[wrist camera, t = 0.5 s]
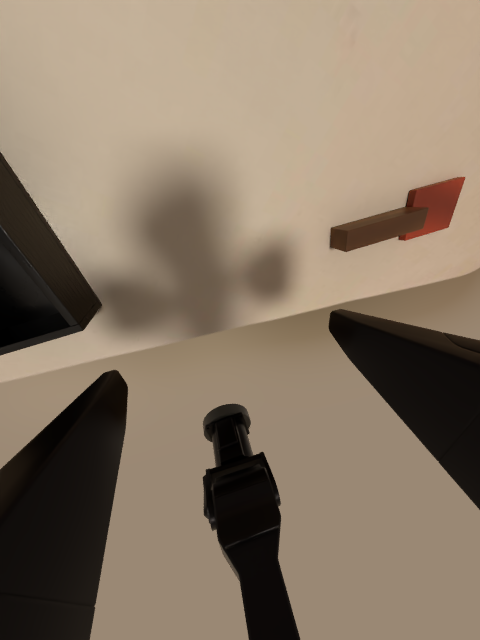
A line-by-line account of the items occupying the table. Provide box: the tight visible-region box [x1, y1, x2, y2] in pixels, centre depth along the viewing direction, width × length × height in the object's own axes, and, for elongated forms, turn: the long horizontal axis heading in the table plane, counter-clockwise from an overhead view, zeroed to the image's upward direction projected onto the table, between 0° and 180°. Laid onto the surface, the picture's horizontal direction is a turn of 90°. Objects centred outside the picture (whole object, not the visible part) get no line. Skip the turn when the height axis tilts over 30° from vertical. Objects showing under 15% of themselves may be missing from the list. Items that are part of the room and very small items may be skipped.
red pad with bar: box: [330, 177, 465, 252], centre depth 21 cm, size 5×15×2 cm, turn 102°
